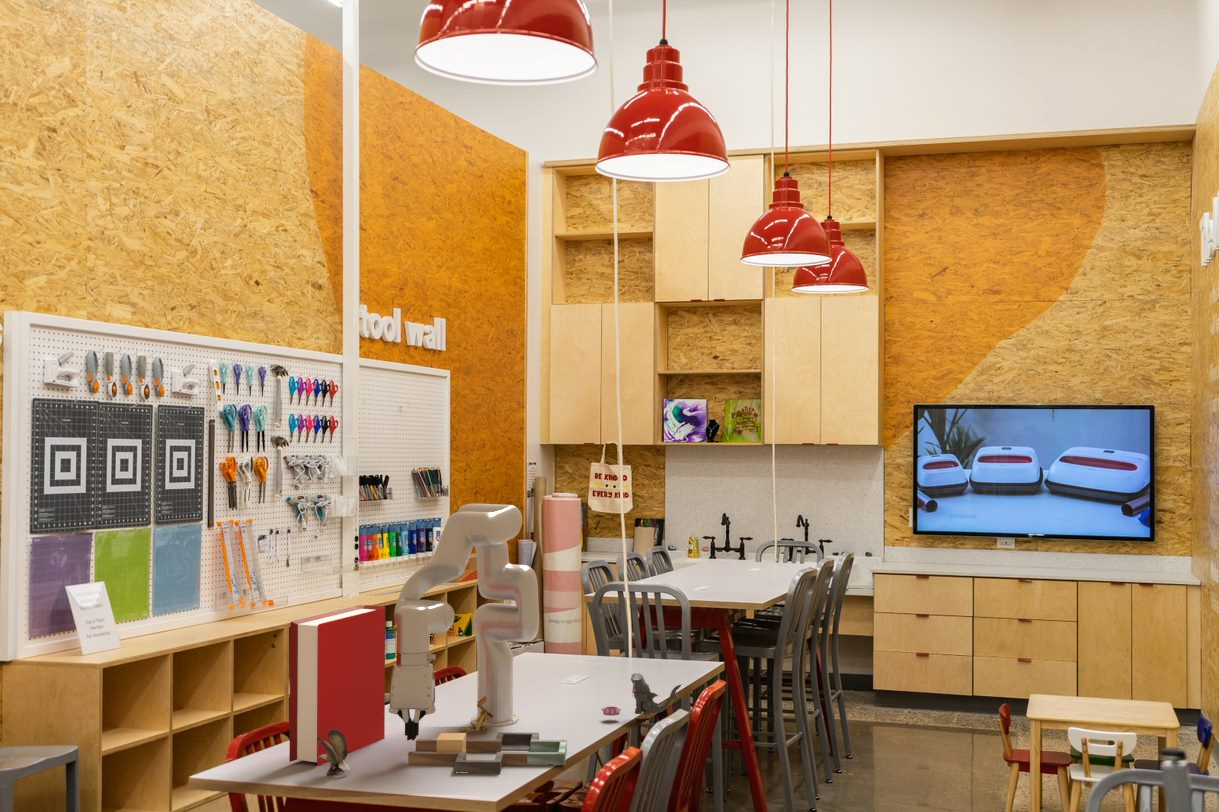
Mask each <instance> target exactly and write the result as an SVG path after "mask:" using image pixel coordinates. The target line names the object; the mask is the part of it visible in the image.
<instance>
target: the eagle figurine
mask: <svg viewBox="0 0 1219 812" xmlns="http://www.w3.org/2000/svg"><path fill="white" fill-rule="evenodd" d="M328 739H329V742H330V744H328V743H327V742H325V741H323V740H322V739H321V738H320V737H319V736H318V740H319V741H320V742H321V743H322V744H323V745H324V747H325V748H326V750H327V751H328V754H329V755H325V754H323V755H321V756H319V758H323V759H326V760H327V761H329V762H328V763H330V765H329V769H328V770H327V772H326V776H329V775H331V774H335V775H336V776H338V775H339V773H338V772H341V773H343V774H345V771H347V772H349V771H350V769H351V766H350V764H348V763H346V762H345V760H346V758H347V757H348V754H349V753H348V750H347V743H346V742H347V740H346V738H345V736H344V735H343V734H342V733H341V731H339V730H336V729H335V730H333V729H331V731H330V733H328Z"/></svg>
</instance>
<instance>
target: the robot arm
mask: <svg viewBox="0 0 1219 812" xmlns="http://www.w3.org/2000/svg"><path fill="white" fill-rule="evenodd" d="M522 525H523V515H522V512H521V510H520V509H519V508H518V507H517V506H516V505H513V504H499V503H498V504H496V503H492V504H491V503H466V504H463V505H462V506H461V507H459V508H458V510H457V512H454V513H452V514H450V516H449V517H448V518H447V520H446V522H445V526H444V527H443V530H442V533H441V535H440V538H439V541H438V543H437V545H436V549H435V551H434V554H433V556H432V558H431V560H430V561H429V562H427V563H426V564H425V565H423V566H422V567H420V568H419V569H418V570H417V571H416V572H415V573H413V574H412V575H411V576H410V577H409V578H408V579H407V581H406V582H405V583H404V585H403V587H402V589H401V591H400V593H399V596H398V598H397V602H396V603H395V608H394V614H393V620H394V623H395V626H396V650H395V651H396V652H395V653H396V656H395V657H396V661H395V662H396V663H394V664H393V666H392V671H391V677H390V687H389V698H388V699H389V702H388V703H389V707H388V712H389V714H393V715H398V717H399V718H401V719H402V721H403V723H404V736H405V737H406V740H407V741H416V738H417V737H418V736H419V731H420V730H419V729H420V721H421V720H422V719H423V718H424V717H425V716H428V715H432V714H435V713H436V706H435V703H436V680H435V678H436V677H435V671H434V665H433V663H430V662H431V661H436V654H433V653H431V650H430V634H442V633H446V632H447V631H448V630H450V629H451V628H452V626H453V624H454V621H455V610H454V608H453V607H452V606H451V604H449V603H448V602H445V601H442V600H429V599H421V598H422V597H423V595H425V594H426V593H427V592H428V591H429V590H432V589H433V588H435V587H438V586H440V585H442V584H446V583H448V582H451V581H453V580H456V579H458V578H459V577H461V576H462V575H464V573H465V571H466V568H467V565H468V562H469V560H470V557H471V555H472V552H473V549H474V548H475V549H474V550H475V555H476V556H475V557H476V574H477V589H478V591H479V594H480V596H481V597H483V598H485V599H489V600H495V601H511V602H512V601H514V602H515V604H513V603H511V604H510V603H501V602H500V603H499V602H497V603H496V602H491V603H489V602H488V603H485V604H482V605H480V606H479V607H478V608H477V609H476V610H475V612H474V616H473V628H474V633H475V639H476V647H477V649H476V650H477V654H476V655H477V674H476V675H477V694H476V697H477V700H476V701H477V702H476V703H477V704H478V701H480V700H481V699H482V698H484V696H486V698H487V701H486V702H485V703H483V704H482V707H484V708H485V709H486V710H487V712H490V713H491V714H492V716H493V718H491V717H490V718H489V719H488V720H487V719H486V720H485V722H484V723H483V724H482V725H481V727H482V726H483V727H484V726H485V727H486V728H487V727H489V728H490V727H491V728H492V727H493V728H494V727H497V728H498V727H506V726H507V725H508V726H512V724H513V725H515V723H516V724H518V723H519V722H518V721H520V717H519V716H518V715H516V714H514V654H513V651H512V648H511V647H510V645H509V643H508V641H509V642H510V641H511V642H531V641H533V640H535V639H536V638H537V635H538V633H539V630H540V629H539V627H540V609H539V608H540V607H539V589H538V588H539V583H538V578H537V577H538V576H537V574H536V572H535V570H534V569H533V568H532V567H530V566H529V565H525V564H512V563H510V559H509V556H510V555H509V546H508V543H507V542H508V541H509V540H512V539H514V538H516V536H517V535H518V534H519V533H520V531H521V529H522ZM477 704H476V705H477ZM476 707H477V706H476ZM410 710H414V715H413V719H412V717H411V711H410ZM480 711H481V712H482V710H481V709H480V708H479V707H477V713H476V715H474V716H472V717H471V718H470V719H471V724H472V725H473V726H474V725H475V726H477V720H478V718H479V717H480V714H481V713H480ZM487 718H488V717H487ZM517 722H518V723H517Z"/></svg>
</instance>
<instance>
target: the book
mask: <svg viewBox="0 0 1219 812" xmlns="http://www.w3.org/2000/svg"><path fill="white" fill-rule="evenodd" d="M289 622H290V623H289V627H290V628H289V629H290V630H289V634H290V635H289V640H290V641H289V642H290V643H289V658H290V659H289V754H288V755H289V757H288V758H289V760H288V761H289V762H290V763H291V762H295V761H297V760H298V761H305V762H311V763H316V764H317V766H318V767H319V766H322V765H324V764H327V763H330V762H329V761H327V760H326V759H323V758H319V756H321V755H323V754H325V755H329V754H328V751H327V750H326V748H325V747H324V745H323V744H322V743H321V742H320V741H319V740H318V736H319V737H320V738H321V739H322V740H323V741H325V742H327V743H328V744H330V742H329V739H328V733H330V731H331V729H333V730H335V729H336V730H339V731H341V733H342V734H343V735H344V736H345V738H346V740H347V742H346V743H347V750H348V754H350V753H353V752H356V751H358V750H360V749H362V748H365V747H367V746H370V745H373V744H374V743H377V742H379V741H382V740H385V733H386V732H385V727H386V726H385V722H386V719H385V717H386V716H385V715H386V714H385V713H386V711H385V709H386V707H385V703H386V702H385V701H386V699H385V697H386V692H385V688H386V606H384V605H383V606H379V605H371V604H369V605H368V604H365V605H361V604H360V605H356V606H350V607H347V608H346V607H345V608H343V609H338V610H333V611H331V612H330V611H329V612H325V613H321V614H317V615H312V616H308V617H303V618H300V619H295V620H291V621H289Z"/></svg>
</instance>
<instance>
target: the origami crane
mask: <svg viewBox="0 0 1219 812" xmlns="http://www.w3.org/2000/svg"><path fill="white" fill-rule="evenodd" d="M486 701H487V698H486V696H484V698H482V699H481V700H480V701H478V704H476V707H479V708H480V709H481V710H482V712H481V711H480V713H481V714H480V717H479V718H478V720H477V725H475V726H470V727H468V726H466V727H464V728H460V729H459V730H458V731H459V733H467V732H473V731H476V732H478V731H480V730H481V731H483V732H487V731H488V728H486V726H481V725H482V724H483V723H484V722H485V720H486V719H487V720H488V719H489V718H490V717H491V718H493V716H492V714H491V713H490V712H487V710H486V709H485V708H484V707H482V704H483V703H485V702H486ZM487 717H488V718H487Z"/></svg>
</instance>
